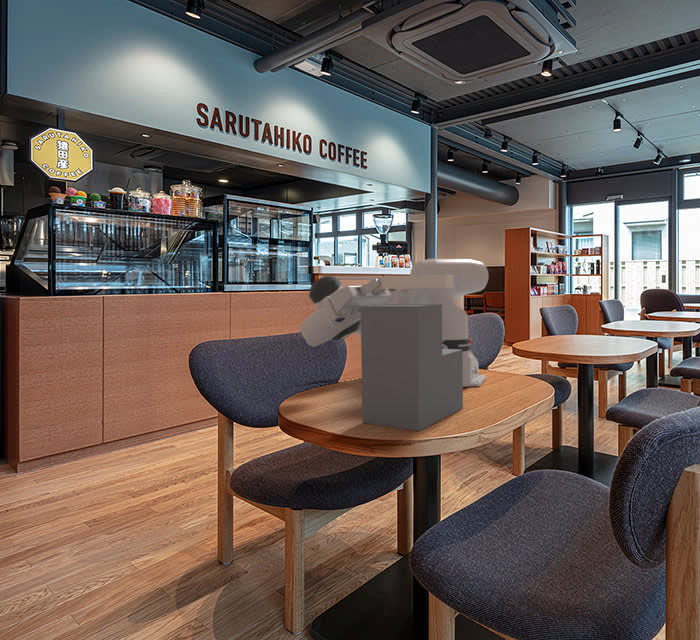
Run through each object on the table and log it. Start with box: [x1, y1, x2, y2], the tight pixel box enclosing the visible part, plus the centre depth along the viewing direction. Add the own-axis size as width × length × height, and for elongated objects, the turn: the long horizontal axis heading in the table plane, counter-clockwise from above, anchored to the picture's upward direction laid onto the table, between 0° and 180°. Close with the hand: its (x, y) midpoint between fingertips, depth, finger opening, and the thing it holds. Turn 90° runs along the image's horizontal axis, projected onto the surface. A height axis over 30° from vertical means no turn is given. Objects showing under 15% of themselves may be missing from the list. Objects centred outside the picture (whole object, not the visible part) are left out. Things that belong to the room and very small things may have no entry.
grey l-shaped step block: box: [360, 304, 464, 432], centre depth 118 cm, size 24×14×26 cm, turn 146°
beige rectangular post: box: [368, 275, 453, 289], centre depth 124 cm, size 4×21×3 cm, turn 56°
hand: (384, 281), depth 128 cm, fingers closed on beige rectangular post, 4 cm apart
